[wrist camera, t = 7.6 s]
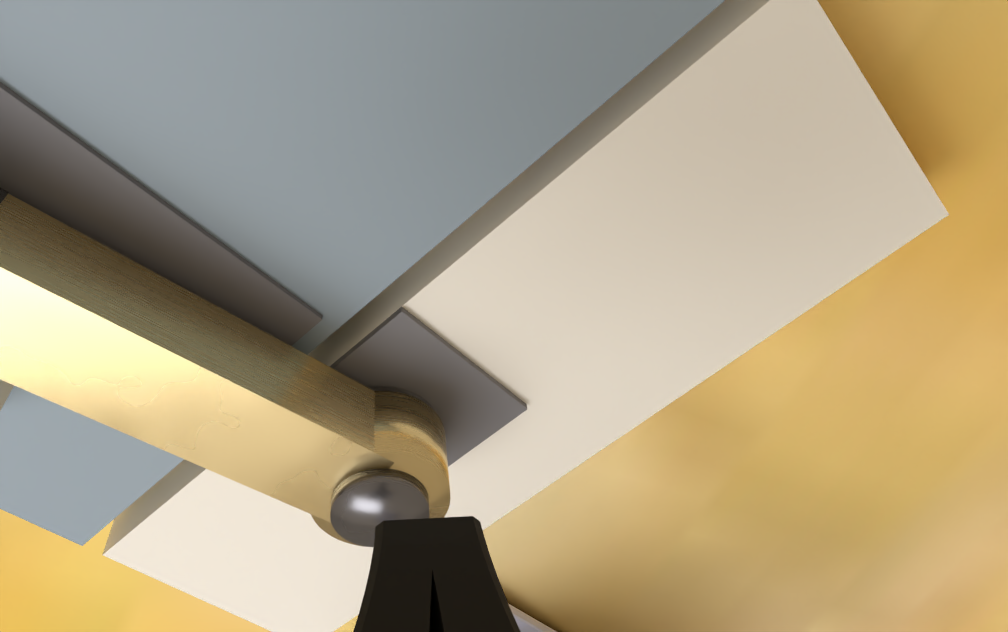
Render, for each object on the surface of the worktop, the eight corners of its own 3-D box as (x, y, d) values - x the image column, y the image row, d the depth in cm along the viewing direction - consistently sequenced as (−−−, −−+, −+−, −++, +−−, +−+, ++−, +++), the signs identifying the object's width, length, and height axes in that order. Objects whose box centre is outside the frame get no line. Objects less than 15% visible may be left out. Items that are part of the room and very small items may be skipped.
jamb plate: (915, 184, 20) (953, 219, 19) (311, 606, 27) (308, 653, 26) (770, -46, 17) (805, -23, 15) (116, 511, 24) (100, 560, 22)
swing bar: (471, 428, 21) (480, 502, 19) (393, 500, 22) (394, 577, 20) (-164, 79, 14) (-250, 139, 12) (-225, 210, 15) (-312, 284, 13)
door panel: (756, -70, 16) (828, -25, 14) (97, 502, 23) (61, 604, 21) (263, -850, 10) (223, -1044, 7) (-426, 248, 17) (-572, 346, 15)
